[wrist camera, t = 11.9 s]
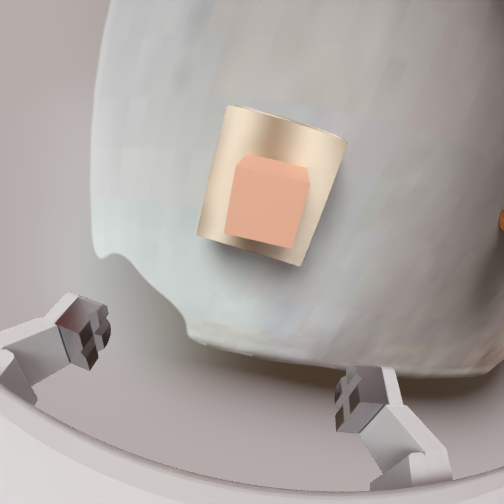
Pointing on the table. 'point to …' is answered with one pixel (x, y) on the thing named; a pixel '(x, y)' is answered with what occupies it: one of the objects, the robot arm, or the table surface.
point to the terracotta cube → (267, 200)
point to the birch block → (277, 148)
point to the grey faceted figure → (502, 220)
